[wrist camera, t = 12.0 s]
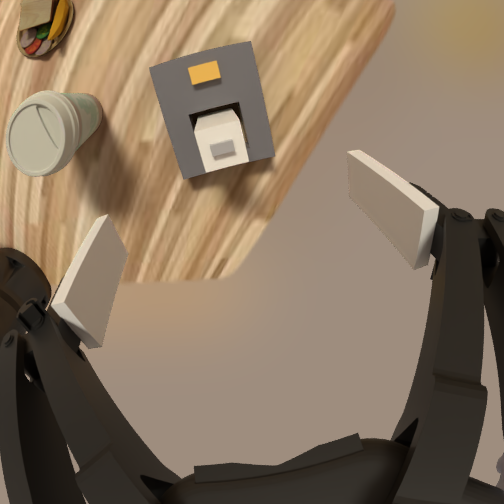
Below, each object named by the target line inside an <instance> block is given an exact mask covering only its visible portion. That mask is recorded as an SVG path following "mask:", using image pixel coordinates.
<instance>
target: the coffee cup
mask: <svg viewBox="0 0 504 504" xmlns="http://www.w3.org/2000/svg"><path fill="white" fill-rule="evenodd" d="M101 120H102V107H101V104H100V102H99V101H98V99H97V98H96V97H94V96H93V95H90V94H84V93H58V92H55V91H41V92H38V93H35V94H33V95H32V96H30V97H29V98H27V99H26V100H25V101H24V102H23V103H22V104H21V105H20V106H19V107H18V108H17V109H16V110H15V112H14V113H13V115H12V117H11V118H10V121H9V123H8V127H7V132H6V146H7V151H8V154H9V157H10V159H11V161H12V162H13V164H14V165H15V167H16V168H17V169H18V170H20V171H21V172H22V173H24V174H26V175H28V176H34V177H37V176H48V175H51V174H53V173H56V172H58V171H60V170H61V169H63V168H64V167H65V166H66V165H67V164H68V163H69V162H70V160H71V159H72V157H73V155H74V153H75V151H76V150H77V149H78V148H79V147H80V146H81V145H82V144H83V143H84V142H85V141H86V140H87V139H88V138H89V137H90V136H91V135H92V134H93V133H94V132H95V131H96V130H97V128H98V127H99V125H100V123H101Z"/></svg>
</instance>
